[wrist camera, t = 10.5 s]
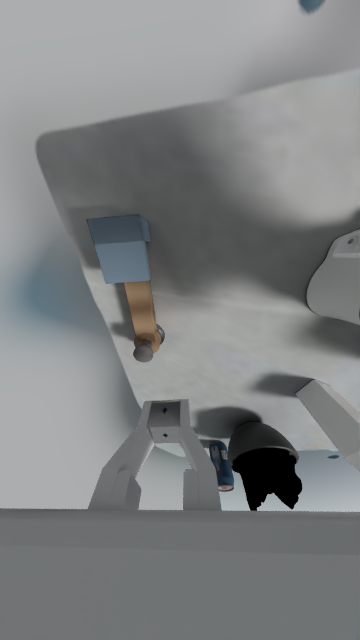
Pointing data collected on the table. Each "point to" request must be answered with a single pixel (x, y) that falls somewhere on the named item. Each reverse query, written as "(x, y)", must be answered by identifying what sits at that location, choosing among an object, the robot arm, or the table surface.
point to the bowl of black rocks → (264, 464)
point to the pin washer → (161, 333)
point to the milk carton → (334, 418)
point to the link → (143, 319)
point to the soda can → (221, 466)
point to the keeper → (121, 247)
